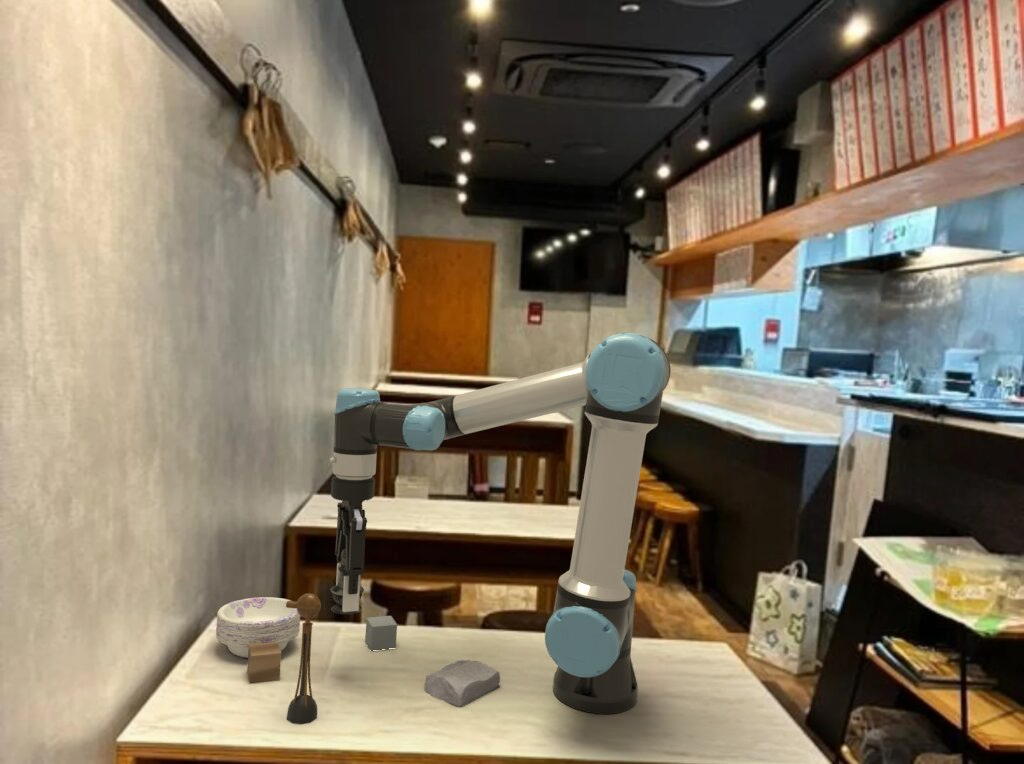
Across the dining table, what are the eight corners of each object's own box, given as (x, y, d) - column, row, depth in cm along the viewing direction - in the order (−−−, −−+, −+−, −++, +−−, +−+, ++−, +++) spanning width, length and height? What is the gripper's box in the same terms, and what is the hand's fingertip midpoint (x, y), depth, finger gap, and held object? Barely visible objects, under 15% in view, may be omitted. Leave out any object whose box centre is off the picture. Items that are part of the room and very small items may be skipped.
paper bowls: (257, 627, 153) (259, 589, 152) (315, 645, 146) (317, 605, 146) (196, 652, 139) (199, 611, 138) (257, 673, 132) (260, 629, 132)
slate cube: (395, 649, 147) (397, 624, 147) (370, 652, 145) (372, 626, 144) (389, 639, 151) (390, 615, 151) (365, 642, 149) (366, 617, 149)
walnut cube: (279, 680, 130) (281, 653, 130) (249, 684, 128) (251, 656, 128) (276, 668, 135) (277, 641, 134) (247, 671, 133) (248, 644, 132)
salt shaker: (369, 607, 134) (373, 542, 133) (349, 617, 128) (353, 549, 128) (343, 601, 136) (346, 536, 136) (322, 610, 131) (326, 543, 130)
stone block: (418, 702, 130) (462, 710, 124) (417, 673, 130) (460, 680, 125) (462, 683, 139) (504, 689, 134) (461, 656, 140) (503, 662, 134)
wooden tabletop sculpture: (275, 721, 116) (282, 596, 116) (287, 707, 121) (294, 586, 120) (311, 725, 116) (318, 600, 115) (322, 711, 120) (329, 590, 120)
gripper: (323, 466, 138) (316, 588, 139) (342, 486, 121) (335, 625, 122) (363, 466, 141) (356, 586, 142) (387, 485, 124) (379, 621, 125)
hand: (346, 604), depth 132 cm, fingers closed on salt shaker, 6 cm apart
